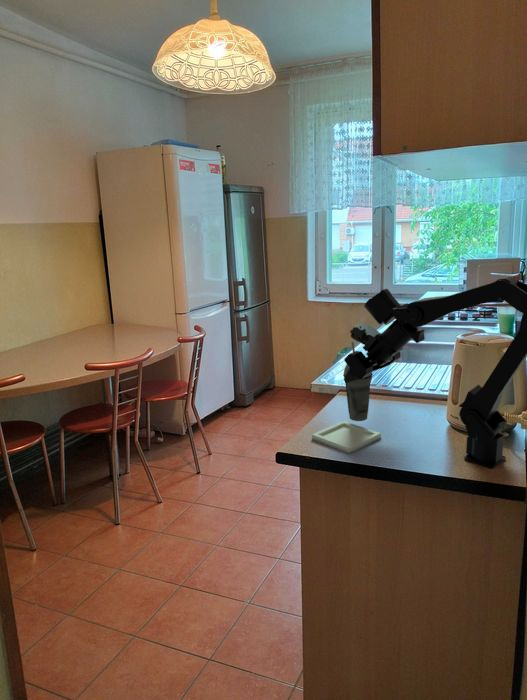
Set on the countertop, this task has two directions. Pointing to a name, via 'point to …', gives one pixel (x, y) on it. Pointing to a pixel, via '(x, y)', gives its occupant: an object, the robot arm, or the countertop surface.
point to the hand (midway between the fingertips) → (352, 377)
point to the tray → (346, 436)
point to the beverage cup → (358, 395)
